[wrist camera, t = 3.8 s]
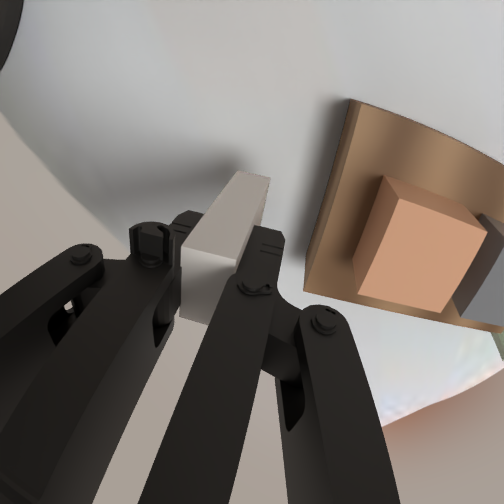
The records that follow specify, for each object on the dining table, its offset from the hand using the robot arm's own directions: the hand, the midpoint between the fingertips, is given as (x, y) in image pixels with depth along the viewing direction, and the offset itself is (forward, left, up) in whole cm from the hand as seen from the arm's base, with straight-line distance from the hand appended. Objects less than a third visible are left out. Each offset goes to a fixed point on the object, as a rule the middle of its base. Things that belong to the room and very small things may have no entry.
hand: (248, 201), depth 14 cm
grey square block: (+15, 0, -1) cm, 15 cm away
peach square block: (+8, 0, -1) cm, 9 cm away
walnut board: (+12, 0, -5) cm, 14 cm away
